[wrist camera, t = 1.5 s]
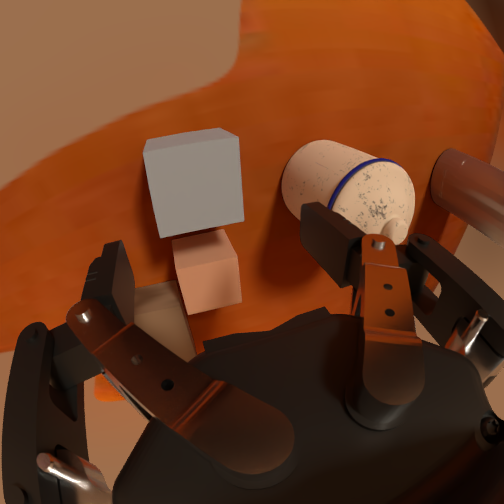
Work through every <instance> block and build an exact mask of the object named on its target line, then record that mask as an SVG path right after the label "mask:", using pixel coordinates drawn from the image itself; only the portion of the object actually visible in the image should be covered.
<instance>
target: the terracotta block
mask: <svg viewBox="0 0 504 504" xmlns="http://www.w3.org/2000/svg"><path fill="white" fill-rule="evenodd" d="M172 247H173V254H174V261H175V268H176V273H177V277H178V280H179V284H180V288H181V292H182V295H183V299H184V302H185V306H186V310H187V313H188V315H191V314H195V313H199V312H204V311H208V310H212V309H216V308H221V307H225V306H229V305H233V304H237V303H241V302H242V297H241V288H240V278H239V268H238V257H237V255H236V253H235V251H234V249H233V247H232V245H231V243H230V241H229V239H228V237H227V235H226V233H225V231H224V229H222V230H217V231H212V232H207V233H203V234H198V235H193V236H188V237H184V238H179V239H174V240H172Z"/></svg>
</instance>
